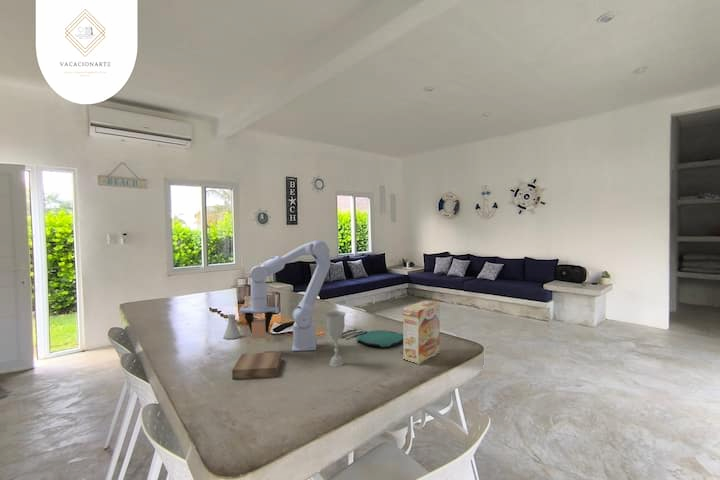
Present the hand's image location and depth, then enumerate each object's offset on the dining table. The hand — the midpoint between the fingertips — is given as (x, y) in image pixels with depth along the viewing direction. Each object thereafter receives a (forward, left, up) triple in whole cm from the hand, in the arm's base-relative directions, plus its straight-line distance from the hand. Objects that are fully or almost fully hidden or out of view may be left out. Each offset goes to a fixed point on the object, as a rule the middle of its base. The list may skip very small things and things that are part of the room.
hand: (259, 331), depth 134 cm
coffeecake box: (-61, +12, -9) cm, 63 cm away
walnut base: (-2, +15, -8) cm, 17 cm away
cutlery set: (-45, -11, -9) cm, 48 cm away
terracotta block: (0, 0, -2) cm, 2 cm away
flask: (+16, -22, -9) cm, 29 cm away
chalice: (-29, +14, -9) cm, 33 cm away
